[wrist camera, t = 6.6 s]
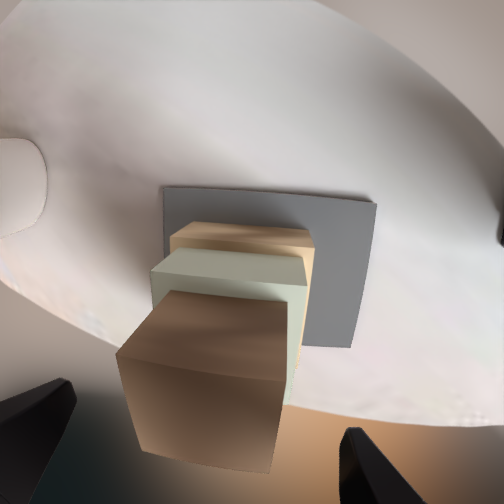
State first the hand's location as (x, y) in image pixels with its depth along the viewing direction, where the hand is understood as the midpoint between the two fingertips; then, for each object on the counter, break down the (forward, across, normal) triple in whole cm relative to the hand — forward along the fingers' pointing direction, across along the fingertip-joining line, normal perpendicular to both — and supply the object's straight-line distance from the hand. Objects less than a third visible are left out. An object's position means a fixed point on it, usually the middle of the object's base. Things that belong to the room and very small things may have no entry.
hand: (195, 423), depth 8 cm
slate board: (+12, -1, 0) cm, 12 cm away
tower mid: (+8, 0, 0) cm, 8 cm away
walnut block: (+4, 0, 0) cm, 4 cm away
